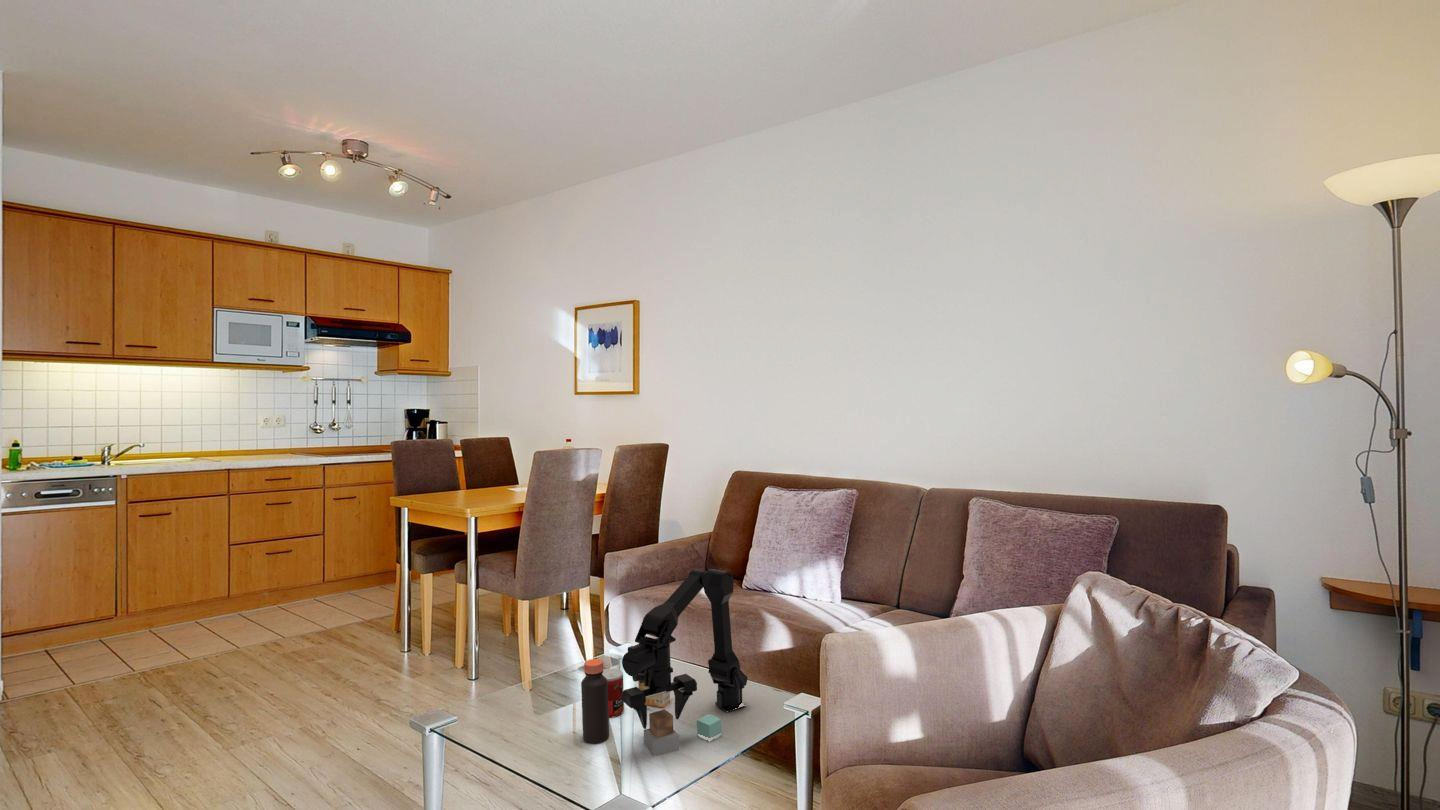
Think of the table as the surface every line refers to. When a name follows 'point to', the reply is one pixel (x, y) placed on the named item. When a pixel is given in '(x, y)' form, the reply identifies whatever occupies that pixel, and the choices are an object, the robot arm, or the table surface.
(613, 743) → the table surface
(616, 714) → the canned food
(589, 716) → the bottle
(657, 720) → the walnut cube
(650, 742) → the slate block
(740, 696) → the robot arm
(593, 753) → the table surface
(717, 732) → the teal cube
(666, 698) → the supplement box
